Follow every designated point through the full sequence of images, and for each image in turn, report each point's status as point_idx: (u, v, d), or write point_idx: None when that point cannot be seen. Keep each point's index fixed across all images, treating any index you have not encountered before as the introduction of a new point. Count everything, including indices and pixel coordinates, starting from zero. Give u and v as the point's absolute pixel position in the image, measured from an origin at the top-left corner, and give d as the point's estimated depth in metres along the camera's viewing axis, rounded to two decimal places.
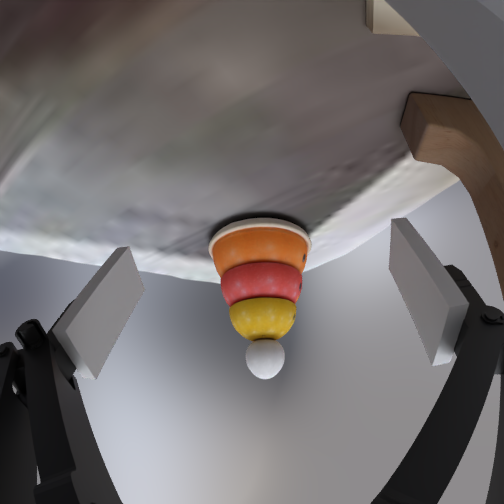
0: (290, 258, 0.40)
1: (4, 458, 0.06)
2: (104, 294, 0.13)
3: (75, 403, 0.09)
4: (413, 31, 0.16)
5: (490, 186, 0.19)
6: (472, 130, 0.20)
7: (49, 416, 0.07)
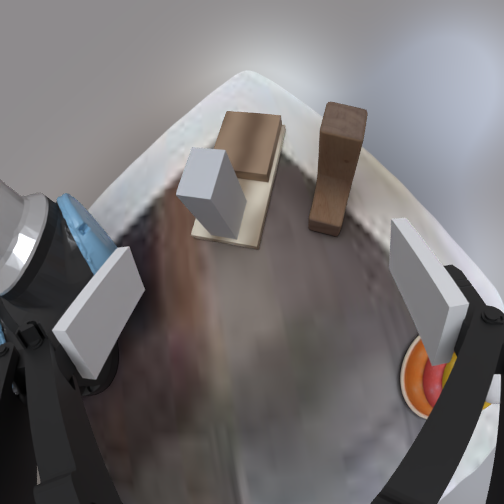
0: None
1: (4, 458, 0.06)
2: (104, 294, 0.13)
3: (75, 403, 0.09)
4: (259, 225, 0.46)
5: (327, 174, 0.38)
6: None
7: (49, 416, 0.07)
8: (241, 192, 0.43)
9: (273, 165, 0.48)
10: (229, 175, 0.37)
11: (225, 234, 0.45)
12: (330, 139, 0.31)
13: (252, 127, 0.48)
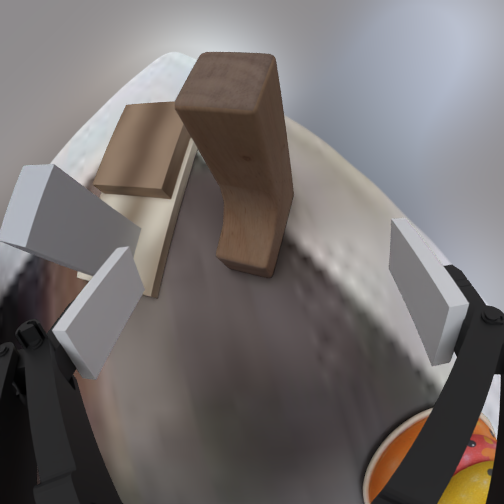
0: None
1: (4, 458, 0.06)
2: (104, 294, 0.13)
3: (75, 403, 0.09)
4: (154, 264, 0.31)
5: (229, 183, 0.23)
6: None
7: (49, 416, 0.07)
8: (121, 219, 0.28)
9: (180, 173, 0.33)
10: (75, 200, 0.22)
11: None
12: (197, 118, 0.15)
13: (152, 122, 0.32)
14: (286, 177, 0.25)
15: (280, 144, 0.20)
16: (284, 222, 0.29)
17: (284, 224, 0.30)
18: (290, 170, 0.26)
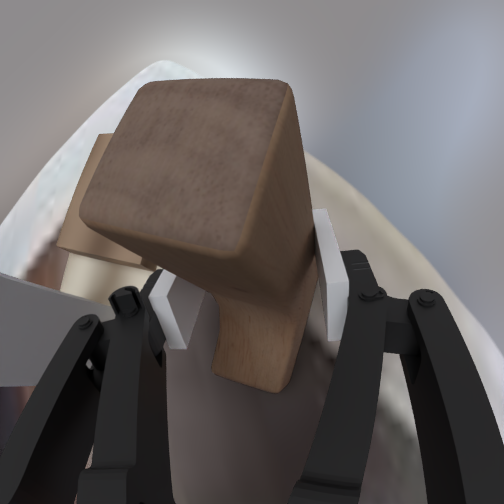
0: None
1: (54, 444, 0.07)
2: None
3: (157, 383, 0.10)
4: None
5: (221, 294, 0.14)
6: None
7: (123, 397, 0.07)
8: (88, 307, 0.20)
9: None
10: (15, 306, 0.13)
11: None
12: (126, 241, 0.07)
13: None
14: (310, 268, 0.17)
15: (302, 242, 0.12)
16: (306, 316, 0.21)
17: (306, 318, 0.21)
18: None
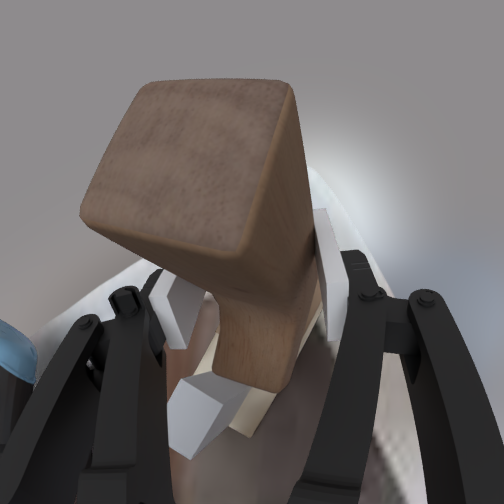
0: None
1: (54, 443, 0.07)
2: None
3: (157, 383, 0.10)
4: (259, 417, 0.35)
5: (222, 295, 0.14)
6: None
7: (123, 397, 0.07)
8: (246, 390, 0.32)
9: None
10: (226, 409, 0.26)
11: None
12: (127, 242, 0.07)
13: None
14: (311, 269, 0.17)
15: (303, 242, 0.12)
16: (306, 316, 0.21)
17: (306, 318, 0.21)
18: None
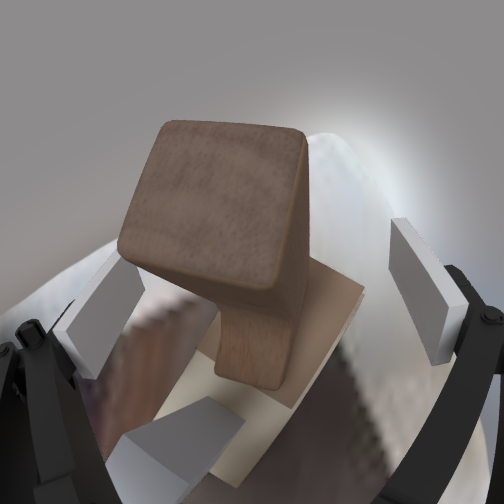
0: None
1: (4, 458, 0.06)
2: (104, 294, 0.13)
3: (75, 403, 0.09)
4: (250, 464, 0.24)
5: (227, 305, 0.16)
6: None
7: (49, 416, 0.07)
8: (233, 436, 0.21)
9: (313, 375, 0.25)
10: (199, 476, 0.15)
11: None
12: (162, 272, 0.09)
13: None
14: (304, 276, 0.19)
15: (302, 257, 0.14)
16: (298, 318, 0.23)
17: (298, 319, 0.23)
18: (308, 261, 0.20)
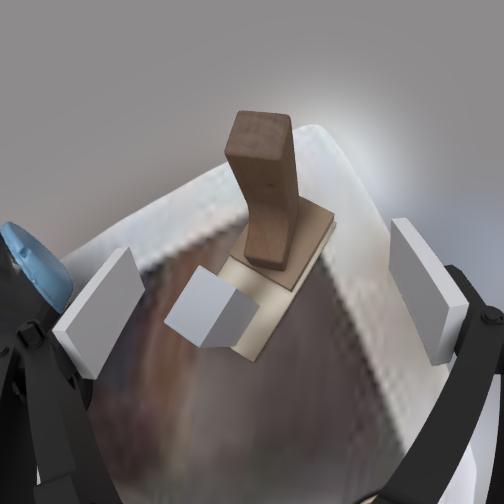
0: None
1: (4, 458, 0.06)
2: (104, 294, 0.13)
3: (75, 403, 0.09)
4: (263, 340, 0.39)
5: (255, 201, 0.31)
6: None
7: (49, 416, 0.07)
8: (253, 305, 0.37)
9: (304, 273, 0.41)
10: (236, 306, 0.30)
11: None
12: (240, 161, 0.24)
13: None
14: (295, 194, 0.34)
15: (292, 173, 0.29)
16: (293, 228, 0.38)
17: (293, 229, 0.39)
18: (297, 189, 0.35)
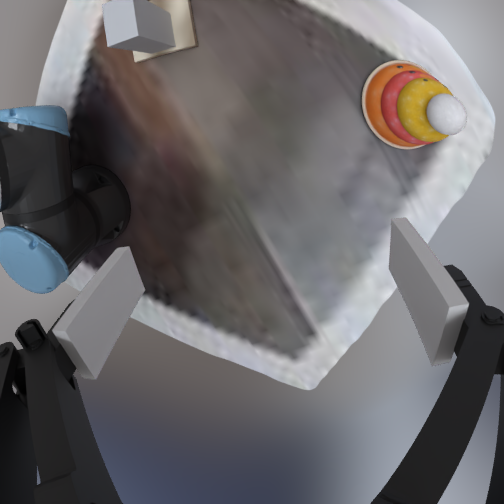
0: (388, 77, 0.36)
1: (4, 458, 0.06)
2: (104, 294, 0.13)
3: (75, 403, 0.09)
4: (190, 27, 0.38)
5: None
6: None
7: (49, 416, 0.07)
8: (162, 10, 0.34)
9: None
10: (144, 7, 0.28)
11: (163, 48, 0.39)
12: None
13: None
14: None
15: None
16: None
17: None
18: None
